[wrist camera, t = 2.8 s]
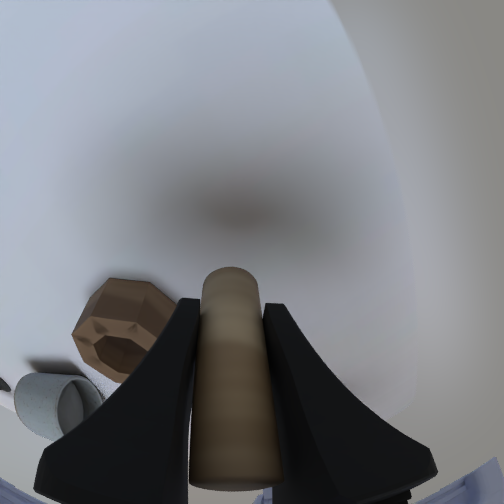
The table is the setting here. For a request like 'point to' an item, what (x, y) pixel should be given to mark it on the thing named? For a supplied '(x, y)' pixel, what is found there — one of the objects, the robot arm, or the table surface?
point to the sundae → (4, 386)
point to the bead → (121, 326)
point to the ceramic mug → (54, 402)
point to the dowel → (233, 390)
